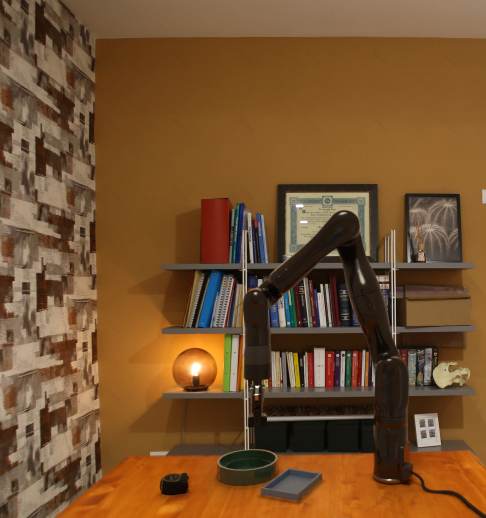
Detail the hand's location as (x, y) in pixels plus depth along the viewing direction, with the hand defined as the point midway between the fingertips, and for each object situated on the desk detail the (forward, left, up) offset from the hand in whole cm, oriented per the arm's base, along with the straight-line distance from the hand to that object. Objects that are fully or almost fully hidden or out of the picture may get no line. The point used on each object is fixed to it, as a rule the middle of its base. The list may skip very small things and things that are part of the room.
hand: (257, 424), depth 134 cm
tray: (-12, +3, -14) cm, 19 cm away
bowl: (+3, 0, -14) cm, 15 cm away
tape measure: (+14, +15, -14) cm, 25 cm away
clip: (0, 0, 0) cm, 0 cm away
